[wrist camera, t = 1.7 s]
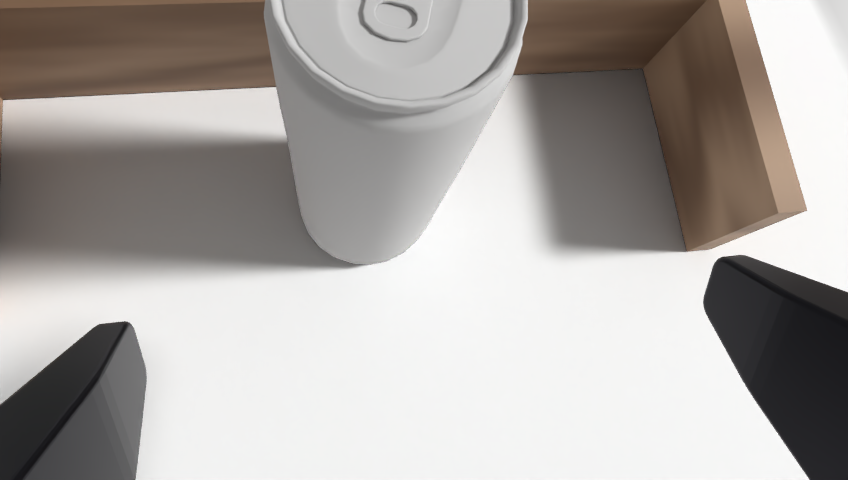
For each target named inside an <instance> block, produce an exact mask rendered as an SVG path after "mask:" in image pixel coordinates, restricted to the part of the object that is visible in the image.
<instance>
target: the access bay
mask: <svg viewBox="0 0 848 480" xmlns="http://www.w3.org/2000/svg"><path fill="white" fill-rule="evenodd" d="M264 6H265V0H0V169H1V138H2V107H3V100H4V99H25V98H46V97H66V96H87V95H108V94H128V93H149V92H169V91H190V90H211V89H231V88H252V87H273V86H276V82H275V77H274V71H273V66H272V60H271V54H270V49H269V43H268V37H267V32H266V26H265V20H264ZM624 69H643V71H644V75H645V80H646V84H647V88H648V92H649V96H650V100H651V104H652V109H653V113H654V117H655V121H656V125H657V129H658V134H659V138H660V142H661V146H662V150H663V154H664V158H665V163H666V167H667V171H668V175H669V179H670V183H671V187H672V192H673V196H674V200H675V204H676V208H677V212H678V216H679V221H680V225H681V229H682V233H683V237H684V241H685V245H686V250H687V252H688V251H697V250H707V249H712V248H715V247H717V246H719V245H722V244H724V243H727V242H729V241H732V240H734V239H737V238H739V237H742V236H744V235H747V234H749V233H752V232H754V231H757V230H759V229H762V228H764V227H767V226H769V225H772V224H774V223H777V222H779V221H782V220H784V219H787V218H789V217H792V216H794V215H797V214H799V213H802V212H804V211H807V208H806V205H805V201H804V198H803V194H802V191H801V188H800V184H799V181H798V177H797V174H796V171H795V167H794V164H793V160H792V157H791V154H790V150H789V147H788V143H787V140H786V137H785V133H784V130H783V126H782V123H781V120H780V116H779V113H778V109H777V106H776V102H775V99H774V96H773V92H772V89H771V85H770V82H769V79H768V75H767V72H766V68H765V65H764V62H763V58H762V55H761V51H760V48H759V45H758V41H757V38H756V34H755V31H754V28H753V24H752V21H751V17H750V14H749V11H748V7H747V4H746V0H528V21H527V24H526V27H525V30H524V34H523V37H522V47H521V51H520V54H519V57H518V60H517V64H516V67H515V70H514V73H513V75H520V74H541V73H562V72H582V71H603V70H624Z"/></svg>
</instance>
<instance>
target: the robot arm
mask: <svg viewBox="0 0 848 480" xmlns="http://www.w3.org/2000/svg"><path fill="white" fill-rule="evenodd" d="M703 304H704V309H705V312H706V315H707V316H708V318H709V320H710V322H711V324H712V326H713V327H714V329H715V331H716V333H717V335H718V336H719V338H720V340H721V342H722V344H723V346H724V347H725V349H726V351H727V353H728V355H729V356H730V358H731V360H732V362H733V364H734V366H735V367H736V369H737V371H738V373H739V375H740V377H741V378H742V380H743V382H744V383H745V385H746V387H747V389H748V390H749V392H750V393H751V395H752V396H753V398H754V399H755V401H756V402H757V404H758V405H759V407H760V408H761V410H762V411H763V413H764V414H765V416H766V417H767V418H768V420H769V421H770V423H771V424H772V426H773V427H774V429H775V430H776V432H777V433H778V434H779V436H780V437H781V439H782V440H783V442H784V443H785V445H786V446H787V448H788V449H789V450H790V452H791V453H792V455H793V456H794V458H795V459H796V461H797V462H798V464H799V465H800V467H801V468H802V469H803V471H804V472H805V474H806V475H807V477H808V478H809V480H848V292H845V291H842V290H840V289H837V288H834V287H831V286H829V285H826V284H823V283H820V282H817V281H815V280H812V279H809V278H806V277H804V276H801V275H798V274H795V273H793V272H790V271H787V270H784V269H781V268H779V267H776V266H773V265H770V264H768V263H765V262H762V261H759V260H756V259H754V258H751V257H748V256H745V255H736V256H727V257H721V258H719V259H718V260H717V261H716V262H715V263H714V265H713V268H712V272H711V275H710V278H709V282H708V285H707V288H706V291H705V295H704V299H703ZM145 391H146V368H145V363H144V360H143V357H142V353H141V350H140V347H139V343H138V340H137V337H136V333H135V330H134V328H133V326H132V325H131V324H130V323H129V322H125V321H124V322H115V323H105V324H99V325H97V326H96V327H94V328H93V329H91V330H90V331H89V332H88V333H87V334H85V335H84V336H83V337H82V338H81V339H79V340H78V341H77V342H76V343H74V344H73V345H72V346H71V347H70V348H68V349H67V350H66V351H65V352H64V353H62V354H61V355H60V356H59V357H58V358H56V359H55V360H54V361H53V362H51V363H50V364H49V365H48V366H47V367H45V368H44V369H43V370H42V371H41V372H39V373H38V374H37V375H36V376H35V377H33V378H32V379H31V380H30V381H28V382H27V383H26V384H25V385H24V386H22V387H21V388H20V389H19V390H18V391H16V392H15V393H14V394H13V395H11V396H10V397H9V398H8V399H7V400H5V401H4V402H3V403H2V404H1V405H0V480H135V478H136V471H137V463H138V454H139V445H140V436H141V427H142V418H143V409H144V400H145Z"/></svg>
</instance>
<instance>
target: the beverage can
mask: <svg viewBox="0 0 848 480" xmlns="http://www.w3.org/2000/svg"><path fill="white" fill-rule="evenodd" d="M264 20H265V26H266V32H267V37H268V43H269V49H270V54H271V60H272V66H273V71H274V77H275V82H276V88H277V93H278V98H279V103H280V108H281V112H282V117H283V121H284V126H285V130H286V135H287V140H288V145H289V151H290V156H291V162H292V168H293V174H294V180H295V186H296V192H297V198H298V203H299V208H300V212H301V217H302V220H303V222H304V224H305V226H306V229H307V231H308V233H309V235H310V236H311V237H312V238H313V240H314V241H315V242H316V243H317V245H318V246H319V247H320V248H321V249H323V250H324V251H326V252H327V253H329V254H330V255H332V256H333V257H335V258H338V259H340V260H343V261H346V262H349V263H352V264H367V265H371V264H376V263H381V262H386V261H388V260H390V259H392V258H394V257H396V256H398V255H400V254H402V253H403V252H405V251H406V250H407V249H408V248H409V247H410V246H412V245H413V244H414V243H415V242H416V241H417V240H418V238H419V237H420V236H421V234H422V233H423V232H424V230H425V229H426V228H427V226H428V224H429V222H430V220H431V218H432V217H433V215H434V213H435V211H436V209H437V208H438V206H439V204H440V203H441V201H442V199H443V198H444V196H445V194H446V193H447V191H448V189H449V188H450V186H451V184H452V183H453V181H454V179H455V178H456V176H457V174H458V173H459V171H460V169H461V167H462V166H463V164H464V162H465V160H466V159H467V157H468V155H469V153H470V152H471V150H472V148H473V146H474V144H475V143H476V141H477V139H478V137H479V135H480V134H481V132H482V130H483V128H484V126H485V125H486V123H487V121H488V119H489V117H490V116H491V114H492V112H493V110H494V108H495V107H496V105H497V103H498V101H499V99H500V98H501V96H502V94H503V92H504V90H505V89H506V87H507V85H508V83H509V81H510V80H511V78H512V75H513V73H514V70H515V67H516V64H517V60H518V57H519V54H520V51H521V47H522V37H523V34H524V30H525V27H526V24H527V21H528V0H265V6H264Z"/></svg>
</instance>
